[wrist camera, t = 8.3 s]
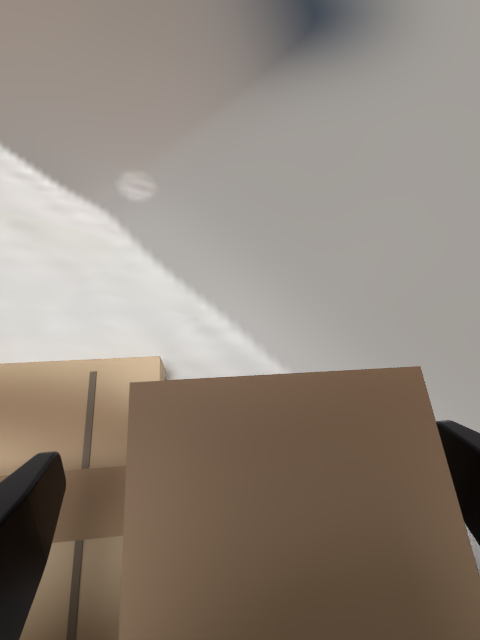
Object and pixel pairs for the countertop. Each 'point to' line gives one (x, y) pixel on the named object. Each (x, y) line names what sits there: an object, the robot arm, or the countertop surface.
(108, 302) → the countertop surface
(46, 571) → the board
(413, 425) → the gauge
